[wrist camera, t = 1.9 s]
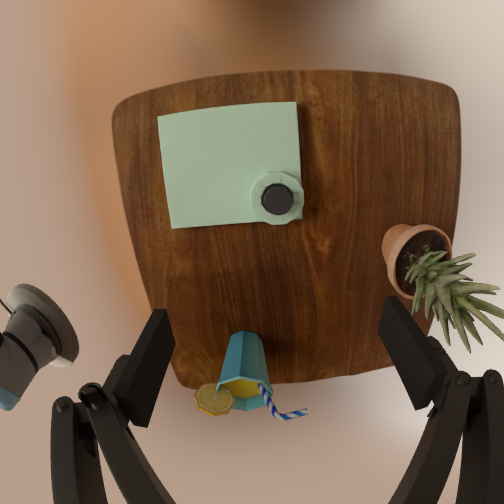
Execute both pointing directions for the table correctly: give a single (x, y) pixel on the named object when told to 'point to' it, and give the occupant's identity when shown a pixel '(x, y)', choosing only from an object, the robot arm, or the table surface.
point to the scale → (230, 163)
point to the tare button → (278, 200)
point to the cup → (241, 381)
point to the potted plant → (436, 279)
